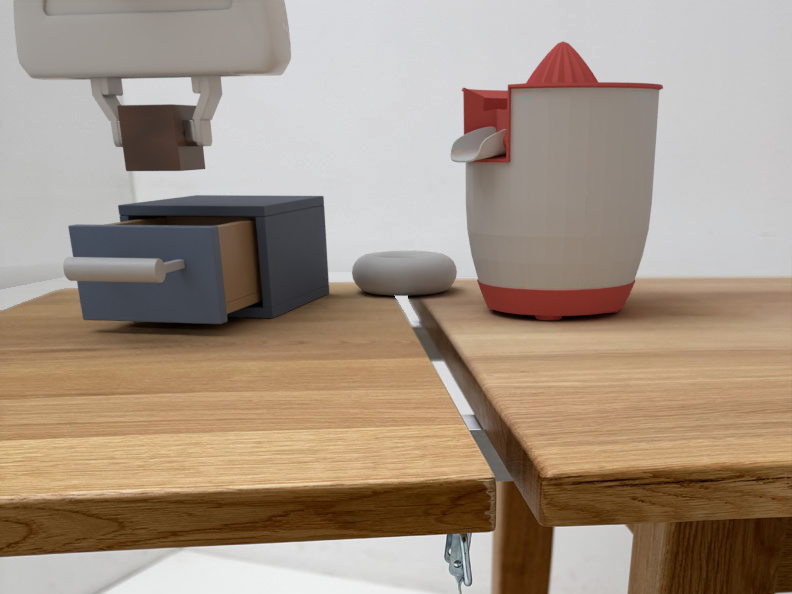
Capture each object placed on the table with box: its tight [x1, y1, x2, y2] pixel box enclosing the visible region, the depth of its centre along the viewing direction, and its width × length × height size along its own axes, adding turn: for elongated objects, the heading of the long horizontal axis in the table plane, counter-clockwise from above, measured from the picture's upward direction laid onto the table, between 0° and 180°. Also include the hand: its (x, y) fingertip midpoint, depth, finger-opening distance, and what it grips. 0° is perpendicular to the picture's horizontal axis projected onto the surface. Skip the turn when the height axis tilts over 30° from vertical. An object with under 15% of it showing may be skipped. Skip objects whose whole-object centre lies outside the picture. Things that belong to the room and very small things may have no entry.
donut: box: [351, 250, 458, 297], centre depth 97 cm, size 10×4×10 cm
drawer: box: [62, 216, 263, 325], centre depth 80 cm, size 18×11×7 cm, turn 168°
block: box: [117, 103, 206, 172], centre depth 77 cm, size 4×4×4 cm
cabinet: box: [117, 194, 330, 319], centre depth 90 cm, size 15×13×9 cm
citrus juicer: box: [450, 40, 664, 321], centre depth 82 cm, size 16×17×20 cm
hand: (164, 146), depth 77 cm, fingers closed on block, 4 cm apart
